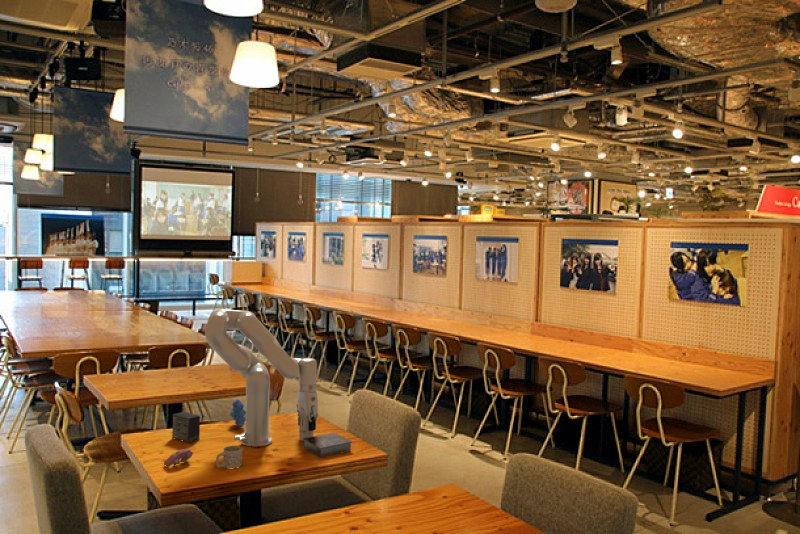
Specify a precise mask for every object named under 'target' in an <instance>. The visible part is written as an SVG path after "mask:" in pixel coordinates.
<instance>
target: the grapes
mask: <svg viewBox="0 0 800 534" xmlns="http://www.w3.org/2000/svg"><path fill="white" fill-rule="evenodd" d="M232 406H233V407H232V409H231V411H230V412H229V416H230V417H231V418H232V419H233V420H234V421H235V422H234V424H235V425H236V427H240V428H243V427H244V425H245V423H246V409H244V407H245V404H244V403H242V401H241V400H240V399H239V398H238V399H236V400H234V401H233V402H232Z"/></svg>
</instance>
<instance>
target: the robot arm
mask: <svg viewBox="0 0 800 534" xmlns="http://www.w3.org/2000/svg"><path fill="white" fill-rule="evenodd" d="M204 329H205V331H204V336H205V339H206V342H207V344H208V346H209V347H210V348H211V349H212V350H213V351H214V352H215V353H216V354H217V355H218V356H219V358H221V359H222V360H223V361H224V362H225V363H226V364H227V365H228V366H229V368H230V370H233V371H234V372H237V373H239V374H241V375H242V377H244V379H245V411H246V414H245V418H246V421H245V431H243V432H242V433H241V434H240V435H234V436H233V440H234V442H236V441H239V442H241V444H242V445H244V446H245V445H246V447H251V446H252V448H253V447H254V448H255V447H258V446H259V447H264V446H269V445H271V444H272V443H273V438H272V437H271V436H270V435H269V433H270V430H269V429H270V425H269V424H270V388H271V387H270V386H271V378H270V373H269V370H268V368H267V367H266V365H265V364H264V363H263V362H262V361H261V360H260V359H259V358H258V357H257V356H256V355H254V353H252V351H250V350H249V349H248V348H247V347H245V346H242V345H239V344H238V343H237V342H236V341H235V340H234V339H233V338H232V337H231V336H230V335H229V334H228V331H227V330H231V331H239V332H240V333H241V334H242V335H243V336H244V337H245V338H246V339H247V340H248V341H249V342H250V343H251V344H252V345H253V346H254V348H256V350H258V351H259V353H260V354H261V355H262V356H263V357H264V358H265V359H266V360H267V361H268V362H269V363H270V364H271V365H272V366H273V367H274V369H275V370H277V371H278V372H279V374H280V375H281V376H283V378H284V379H287V380H294V379H296V378H297V377H298V387H297V388H298V397H297V404H296V411H297V425H298V426H299V425H300V408H301V407H302V406H303V408H304V410H305V415H307V416H308V417H309V431H313V430H314V431H316V430H317V427H316V426H317V420H318V416H319V406H318V405H319V404H318V393H317V371H318V370H317V368H318V366H317V365H318V364H317V363H318V362H317V360H316V359H315V358H312V357H304V358H296V357H291V356H290V355H289V354H288V353H287V352H286V350H285V349H284V348H283V347H282V346H281V343H280V342H279V341H278V339H277V338H276V336H275V335H274V334H272V333H271V332H270V330H268V328H267V327H266V326H265V325H264V323H262V321H260V320H259V319H258V318H257V316H256V314H255V313H253V312H252V311H248V310H234V309H223V308H222V309H220V308H218V309H215V310H214V311H212V312H211V313H210V315H209V317H208V319H207V322H206V325H205V328H204ZM310 413H313V414H310ZM311 416H313V417H312V418H311Z"/></svg>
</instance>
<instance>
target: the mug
mask: <svg viewBox="0 0 800 534" xmlns="http://www.w3.org/2000/svg"><path fill="white" fill-rule="evenodd" d="M215 457H216V458H215V463H216V467H217V468H224V467H225V468H237V467H240V466H241V465H242V463H243V447H242V446H239V445H228V446H226V447H224V448H223V452H220V453H219V454H217V455H216V456H215ZM221 457H223V462H221V463H220V458H221ZM241 467H242V466H241ZM241 467H240V468H241ZM225 468H224V469H225ZM237 469H238V468H237Z"/></svg>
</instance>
